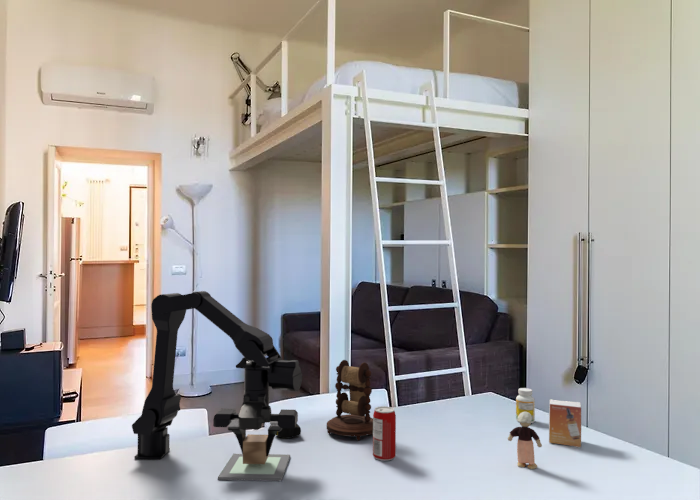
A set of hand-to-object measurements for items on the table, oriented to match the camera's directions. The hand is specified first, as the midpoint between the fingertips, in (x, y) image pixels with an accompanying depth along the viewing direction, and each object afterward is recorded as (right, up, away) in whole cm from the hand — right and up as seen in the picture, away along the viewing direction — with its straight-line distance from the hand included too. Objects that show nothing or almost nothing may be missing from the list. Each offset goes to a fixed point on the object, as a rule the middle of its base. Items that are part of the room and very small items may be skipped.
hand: (255, 455), depth 122 cm
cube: (0, -1, 0) cm, 1 cm away
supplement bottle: (+75, -5, +37) cm, 84 cm away
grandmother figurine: (+63, -4, +3) cm, 63 cm away
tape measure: (+5, -4, +23) cm, 24 cm away
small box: (+80, -4, +19) cm, 82 cm away
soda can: (+30, -3, +7) cm, 31 cm away
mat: (0, -3, 0) cm, 3 cm away
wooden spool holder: (+23, -4, +25) cm, 34 cm away
